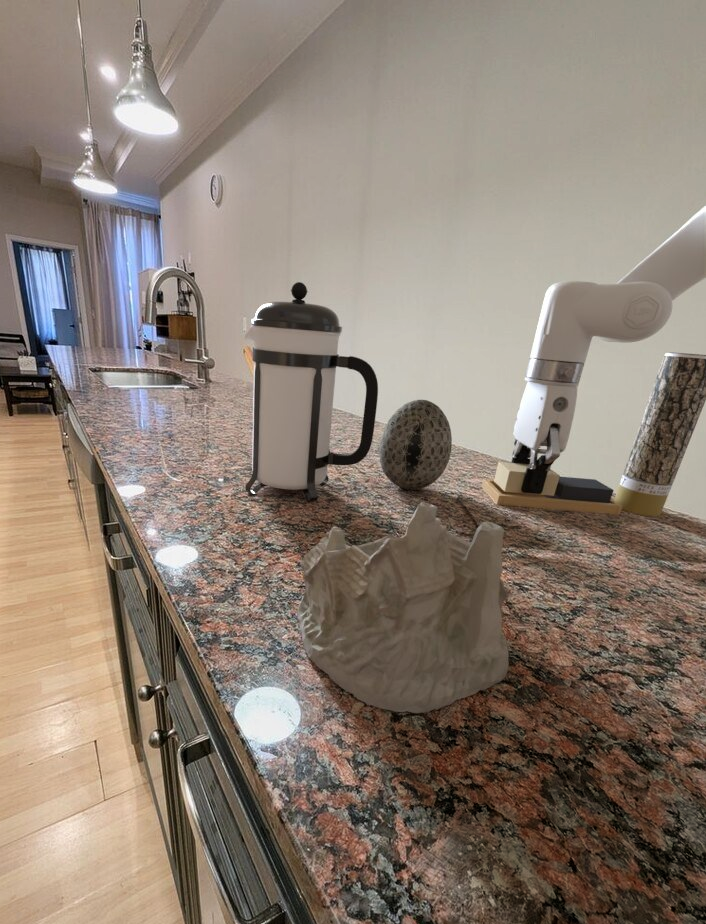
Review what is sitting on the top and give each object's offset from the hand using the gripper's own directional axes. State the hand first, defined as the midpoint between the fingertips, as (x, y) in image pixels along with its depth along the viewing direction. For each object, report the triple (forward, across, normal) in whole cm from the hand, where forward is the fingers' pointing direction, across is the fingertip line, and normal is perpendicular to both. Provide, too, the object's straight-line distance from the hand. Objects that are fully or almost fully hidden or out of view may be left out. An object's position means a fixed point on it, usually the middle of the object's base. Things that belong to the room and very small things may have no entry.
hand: (523, 485), depth 74 cm
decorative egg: (+3, +2, +19) cm, 19 cm away
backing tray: (+3, 0, -4) cm, 5 cm away
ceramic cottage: (+3, -40, +26) cm, 48 cm away
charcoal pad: (+2, 0, -9) cm, 9 cm away
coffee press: (+3, -3, +38) cm, 38 cm away
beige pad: (0, 0, 0) cm, 0 cm away
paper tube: (+3, 0, -19) cm, 19 cm away
